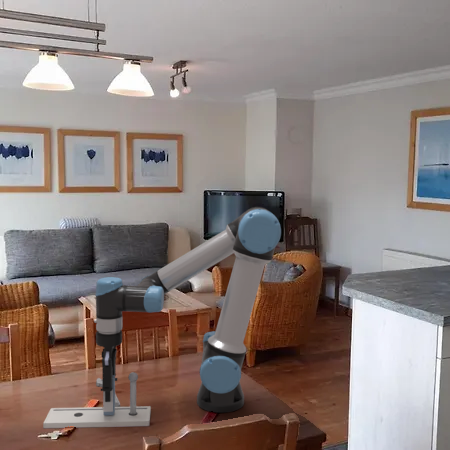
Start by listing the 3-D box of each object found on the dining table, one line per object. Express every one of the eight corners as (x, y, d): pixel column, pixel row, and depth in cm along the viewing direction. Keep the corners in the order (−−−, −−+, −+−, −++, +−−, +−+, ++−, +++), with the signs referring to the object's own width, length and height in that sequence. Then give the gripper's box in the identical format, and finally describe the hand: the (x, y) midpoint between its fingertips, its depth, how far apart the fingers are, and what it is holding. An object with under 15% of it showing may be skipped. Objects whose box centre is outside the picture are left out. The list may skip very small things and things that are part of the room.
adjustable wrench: (121, 409, 172) (121, 404, 172) (100, 412, 170) (100, 406, 170) (113, 379, 196) (113, 374, 196) (95, 381, 194) (95, 376, 194)
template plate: (150, 410, 170) (151, 366, 169) (149, 425, 161) (149, 378, 159) (51, 412, 168) (50, 367, 166) (43, 428, 158) (42, 380, 156)
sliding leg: (114, 410, 166) (114, 375, 165) (113, 415, 163) (113, 378, 162) (104, 410, 166) (104, 375, 164) (103, 415, 163) (103, 379, 162)
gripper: (100, 322, 170) (100, 395, 173) (91, 340, 152) (91, 421, 155) (124, 322, 171) (124, 394, 173) (119, 339, 153) (119, 420, 155)
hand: (109, 406), depth 164 cm, fingers open, 5 cm apart
